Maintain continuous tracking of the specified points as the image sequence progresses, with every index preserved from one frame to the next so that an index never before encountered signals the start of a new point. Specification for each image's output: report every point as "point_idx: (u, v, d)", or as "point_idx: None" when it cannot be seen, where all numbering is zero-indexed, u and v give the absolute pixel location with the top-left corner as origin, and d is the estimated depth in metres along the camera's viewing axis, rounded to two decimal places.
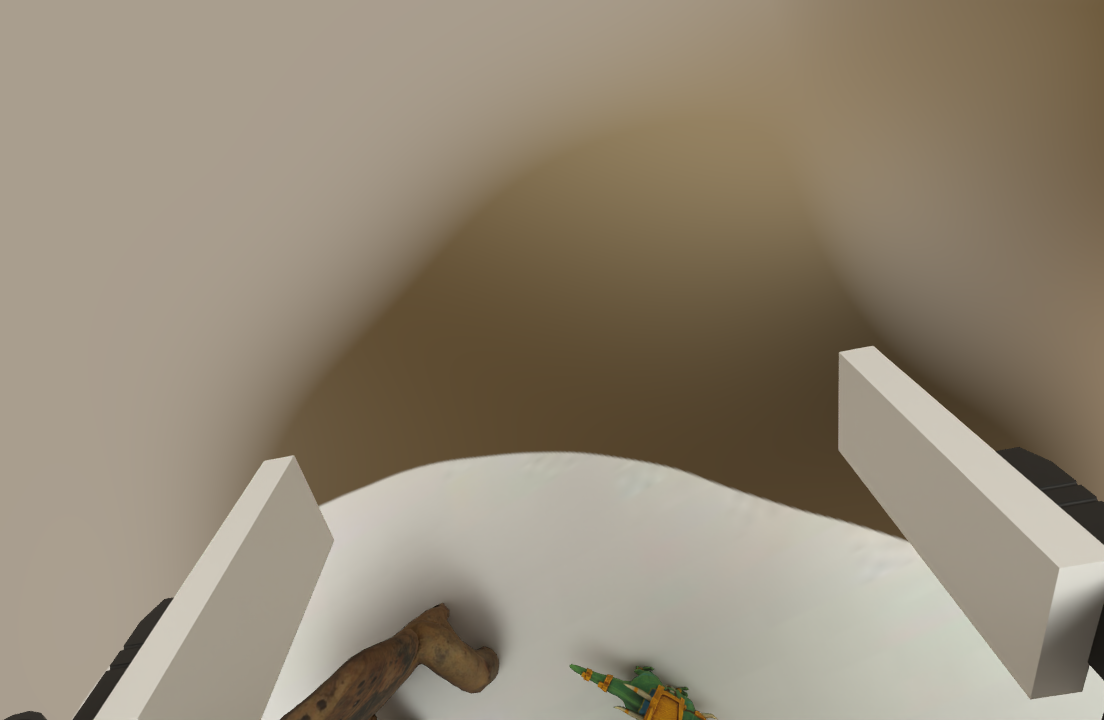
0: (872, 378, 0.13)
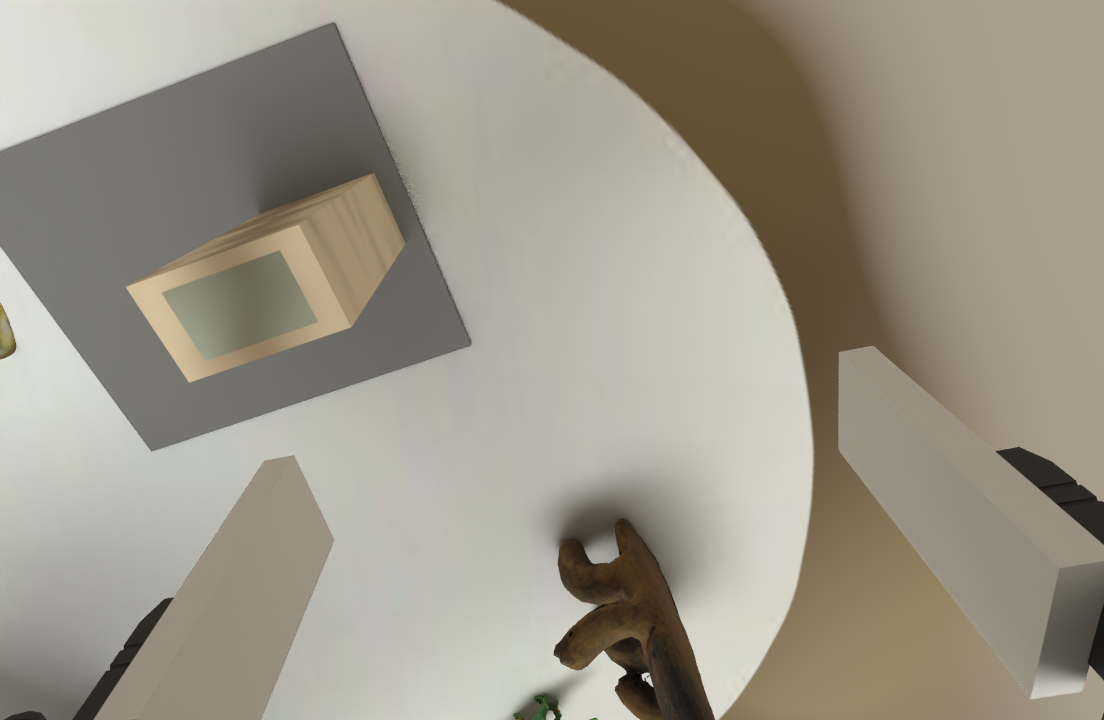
0: (871, 378, 0.13)
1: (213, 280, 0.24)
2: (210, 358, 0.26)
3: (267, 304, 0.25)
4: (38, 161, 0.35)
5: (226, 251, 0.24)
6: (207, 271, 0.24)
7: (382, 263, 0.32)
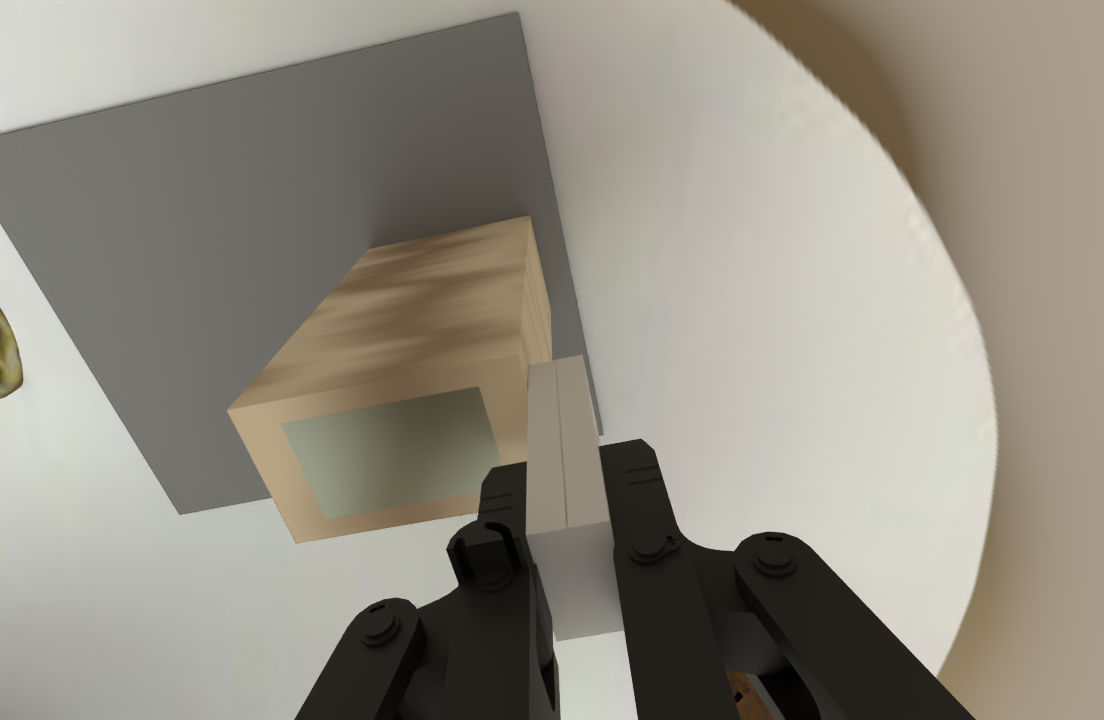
0: (560, 382, 0.15)
1: (365, 415, 0.16)
2: (335, 516, 0.17)
3: (439, 456, 0.16)
4: (82, 146, 0.26)
5: (395, 378, 0.15)
6: (359, 403, 0.15)
7: (549, 354, 0.24)
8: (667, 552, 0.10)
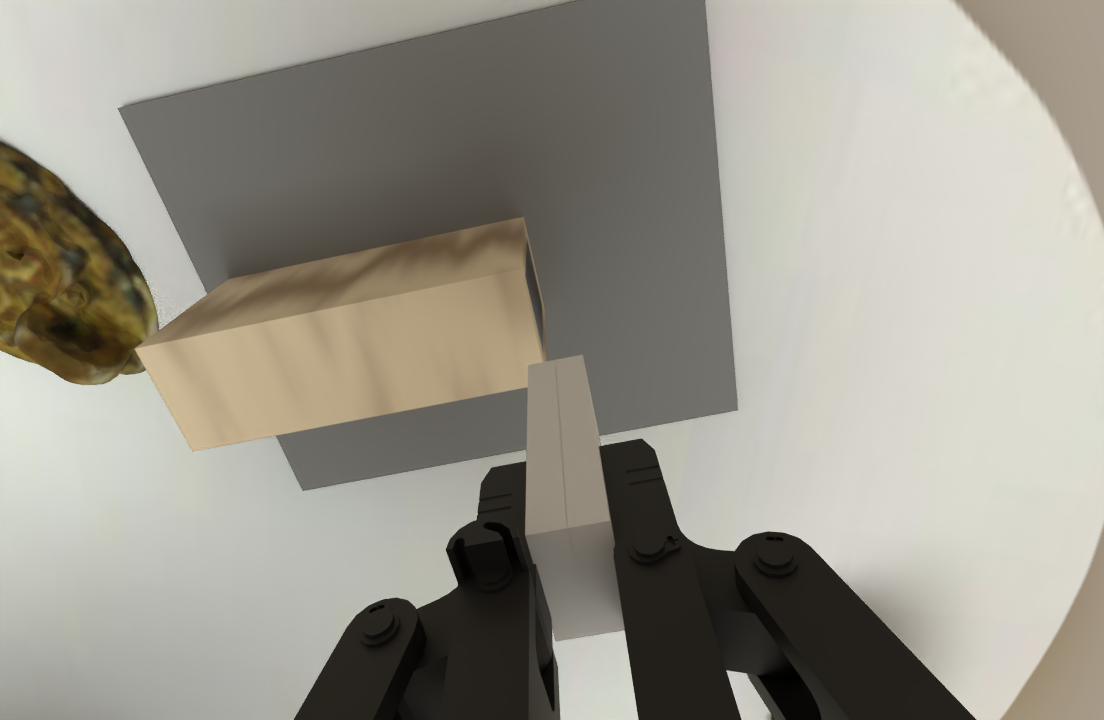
0: (560, 383, 0.15)
1: None
2: None
3: None
4: (248, 108, 0.25)
5: (180, 315, 0.25)
6: None
7: (382, 401, 0.23)
8: (667, 552, 0.10)
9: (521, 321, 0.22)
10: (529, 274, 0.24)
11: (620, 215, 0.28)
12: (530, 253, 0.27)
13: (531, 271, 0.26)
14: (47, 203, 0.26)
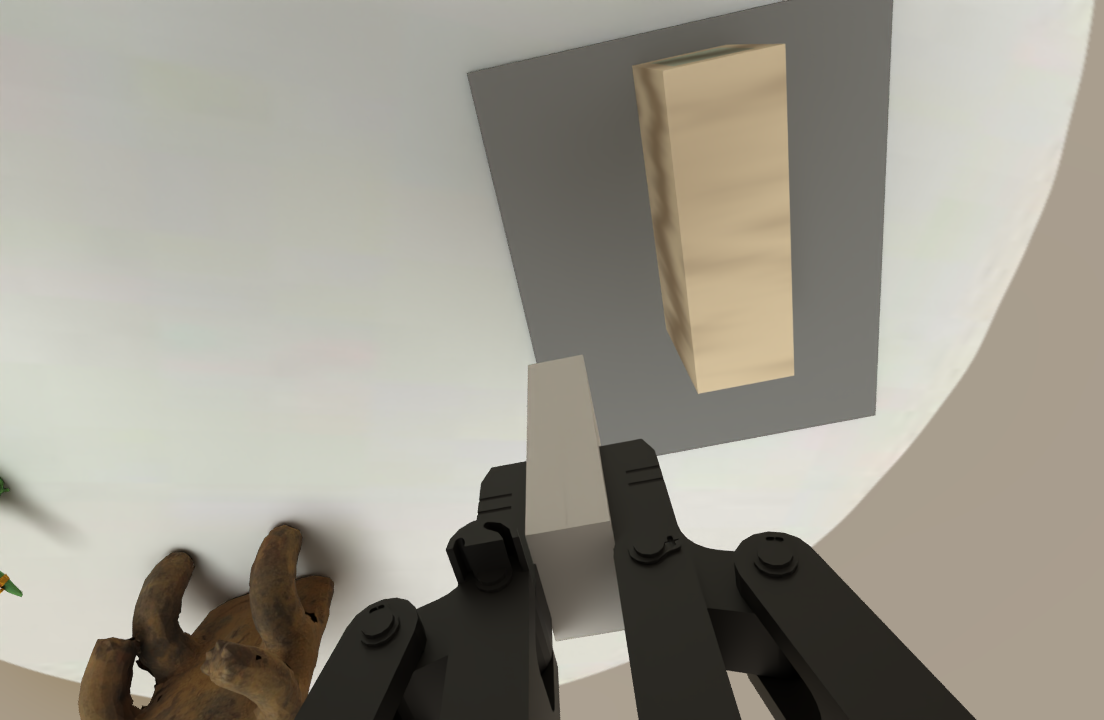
0: (560, 382, 0.15)
1: (727, 48, 0.26)
2: (651, 63, 0.28)
3: (699, 57, 0.25)
4: (866, 101, 0.30)
5: (756, 44, 0.25)
6: (736, 47, 0.26)
7: (697, 267, 0.26)
8: (667, 552, 0.10)
9: (753, 375, 0.29)
10: None
11: None
12: None
13: None
14: None
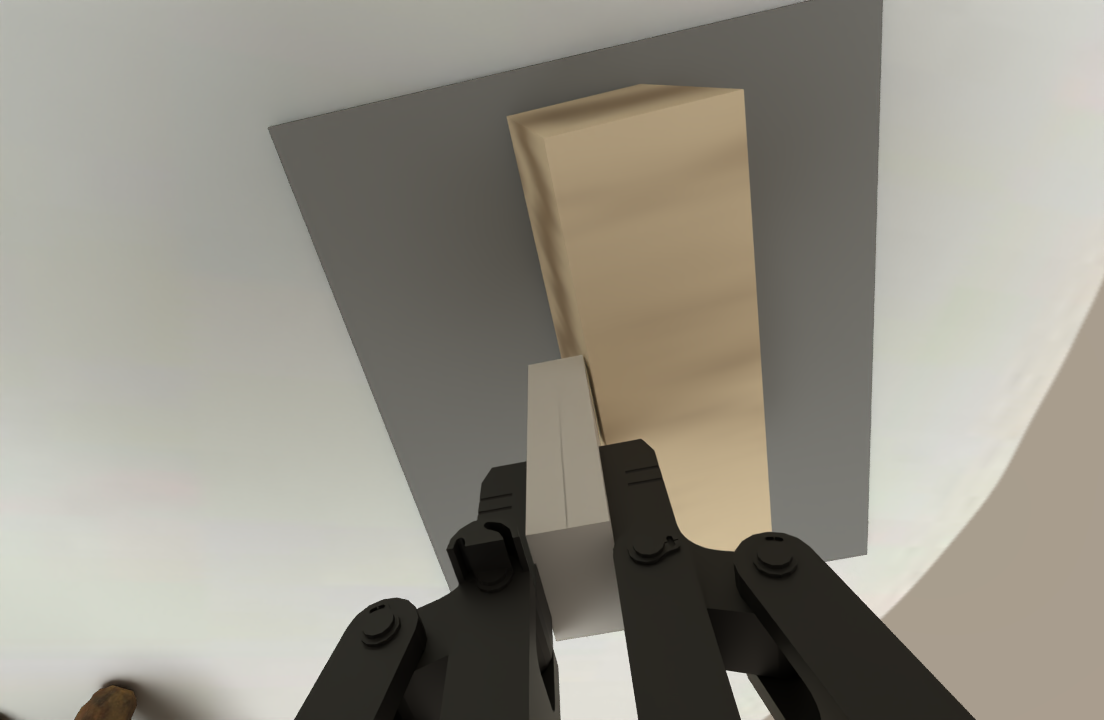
0: (560, 383, 0.15)
1: (645, 93, 0.17)
2: (533, 113, 0.19)
3: (603, 109, 0.16)
4: (846, 161, 0.21)
5: (689, 87, 0.16)
6: (658, 90, 0.17)
7: (624, 432, 0.17)
8: (667, 551, 0.10)
9: None
10: None
11: None
12: None
13: None
14: None
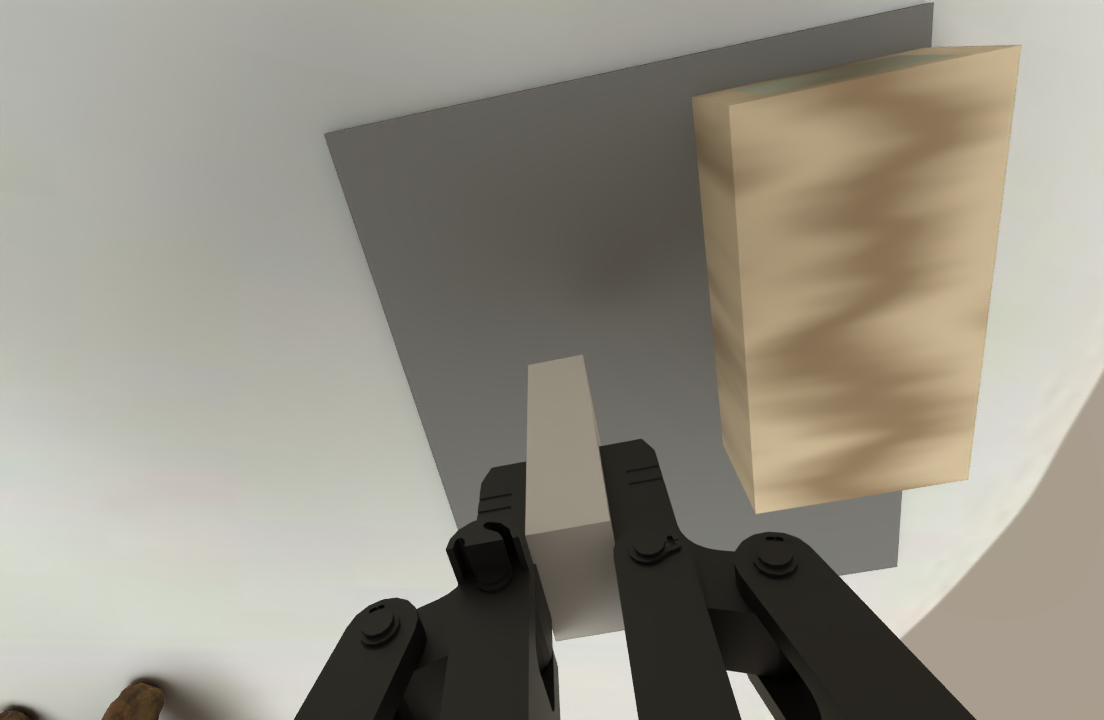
0: (560, 382, 0.15)
1: (803, 76, 0.19)
2: (774, 93, 0.17)
3: (875, 66, 0.18)
4: None
5: (826, 69, 0.20)
6: (798, 75, 0.20)
7: None
8: (667, 552, 0.10)
9: None
10: None
11: (711, 523, 0.28)
12: None
13: None
14: None
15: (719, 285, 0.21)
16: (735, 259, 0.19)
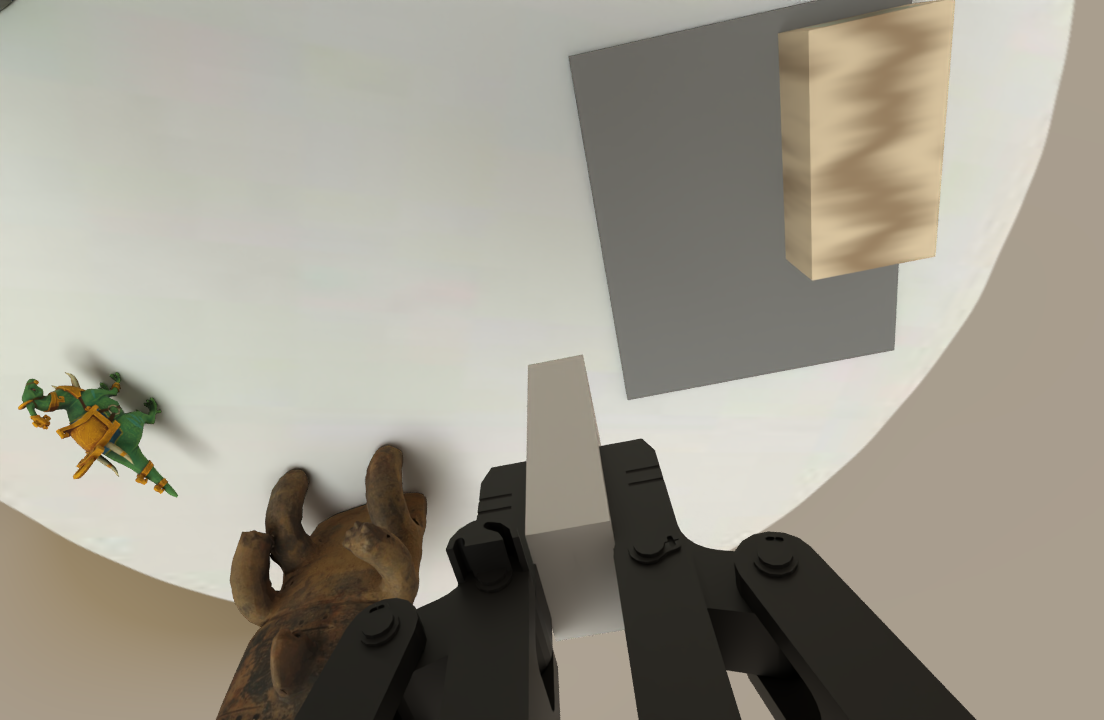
0: (560, 383, 0.15)
1: (841, 19, 0.35)
2: (830, 25, 0.33)
3: (882, 12, 0.34)
4: None
5: (853, 16, 0.36)
6: (838, 20, 0.36)
7: None
8: (667, 552, 0.10)
9: None
10: None
11: (775, 317, 0.44)
12: None
13: None
14: None
15: (792, 143, 0.37)
16: (806, 118, 0.35)
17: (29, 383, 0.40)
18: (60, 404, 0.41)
